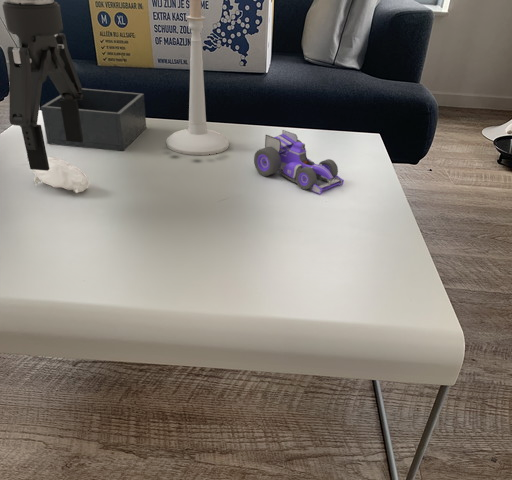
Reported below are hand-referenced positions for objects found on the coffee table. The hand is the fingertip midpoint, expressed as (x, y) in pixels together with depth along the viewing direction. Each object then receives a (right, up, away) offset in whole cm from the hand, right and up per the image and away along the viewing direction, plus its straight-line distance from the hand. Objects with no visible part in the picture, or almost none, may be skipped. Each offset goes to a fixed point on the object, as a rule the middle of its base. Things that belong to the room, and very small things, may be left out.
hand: (58, 154), depth 88 cm
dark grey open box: (-1, +13, +26) cm, 29 cm away
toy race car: (+40, 0, +13) cm, 42 cm away
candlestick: (+20, +10, +24) cm, 33 cm away
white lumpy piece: (0, -5, +4) cm, 6 cm away
